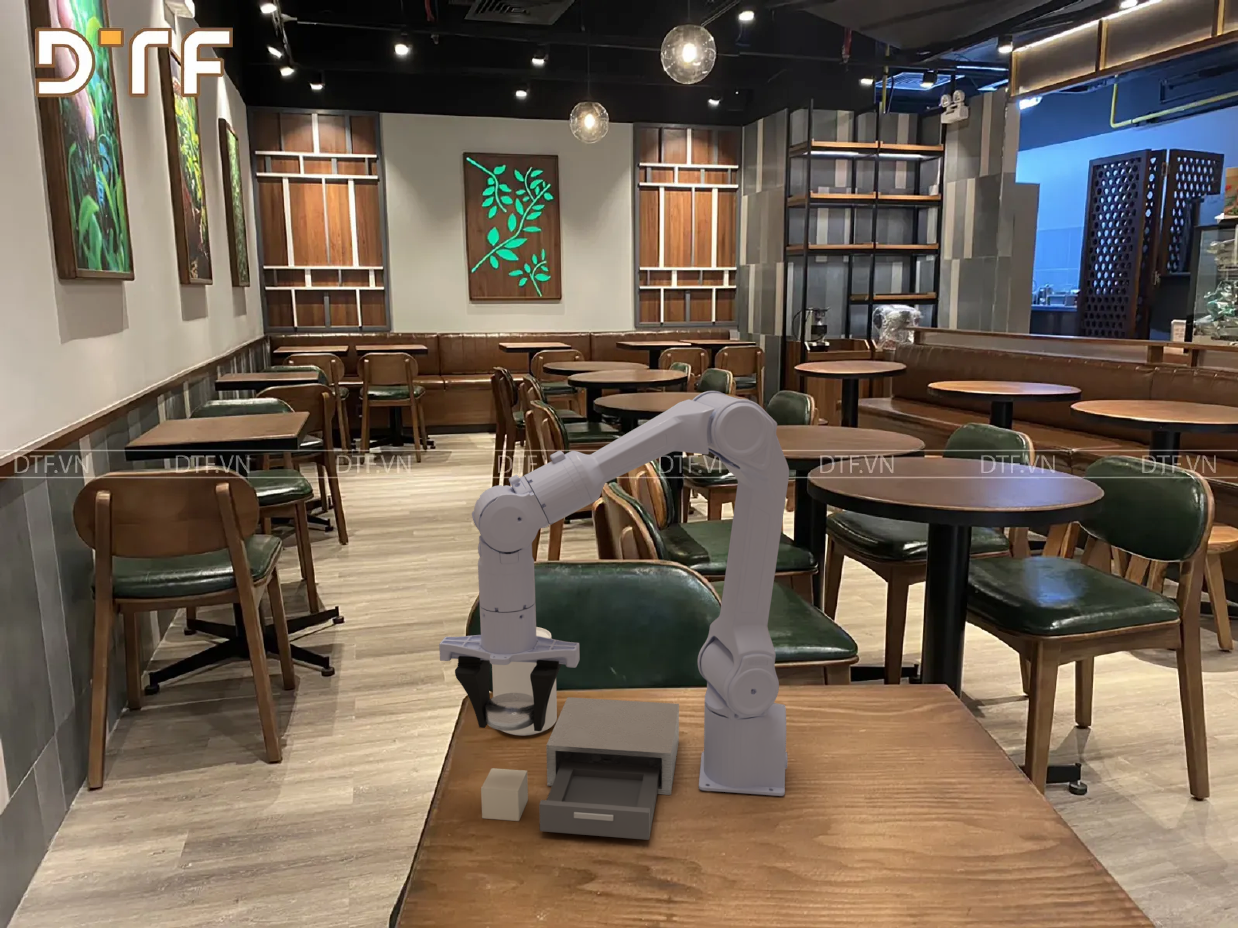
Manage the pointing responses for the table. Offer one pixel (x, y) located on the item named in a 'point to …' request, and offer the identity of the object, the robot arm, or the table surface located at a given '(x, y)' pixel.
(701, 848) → the table surface
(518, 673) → the beverage can
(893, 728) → the table surface
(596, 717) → the box
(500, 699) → the disc
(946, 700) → the table surface
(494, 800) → the riser block
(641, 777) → the tray
